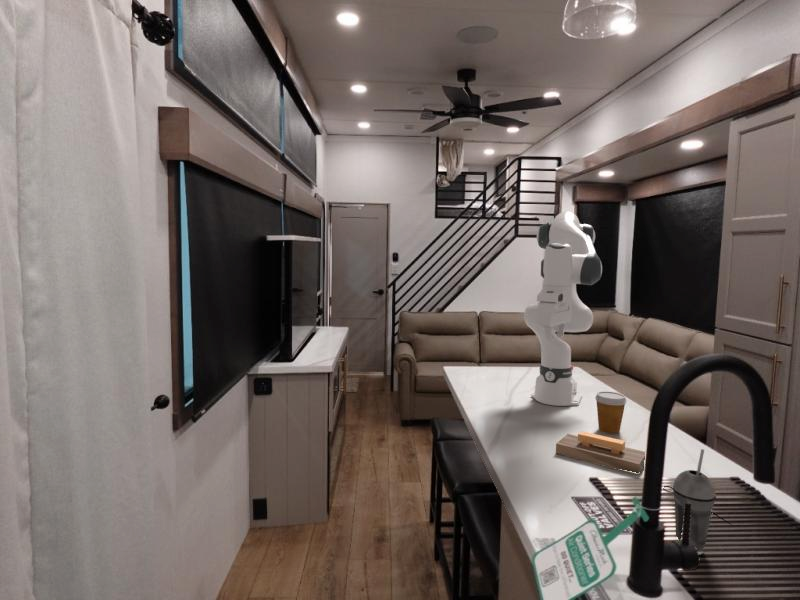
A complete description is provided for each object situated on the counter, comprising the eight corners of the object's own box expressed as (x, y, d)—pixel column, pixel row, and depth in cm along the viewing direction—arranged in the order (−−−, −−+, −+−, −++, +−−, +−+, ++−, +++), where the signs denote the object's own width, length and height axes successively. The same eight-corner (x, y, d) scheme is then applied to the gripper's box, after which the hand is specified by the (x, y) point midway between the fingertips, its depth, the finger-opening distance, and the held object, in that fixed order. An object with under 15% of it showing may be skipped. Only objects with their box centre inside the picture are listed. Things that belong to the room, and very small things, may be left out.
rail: (567, 443, 148) (567, 433, 147) (646, 462, 134) (647, 452, 134) (555, 453, 140) (556, 443, 139) (638, 475, 126) (639, 464, 126)
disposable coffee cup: (625, 428, 161) (627, 393, 160) (623, 438, 153) (626, 401, 152) (595, 423, 165) (597, 389, 164) (591, 432, 157) (593, 396, 156)
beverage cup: (660, 538, 98) (666, 442, 96) (694, 537, 98) (701, 442, 96) (684, 561, 90) (691, 458, 89) (721, 559, 91) (729, 457, 89)
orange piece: (580, 450, 142) (581, 431, 141) (624, 461, 134) (625, 441, 134) (577, 454, 139) (578, 433, 139) (621, 465, 132) (622, 444, 132)
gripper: (558, 292, 162) (556, 333, 163) (534, 295, 146) (532, 341, 147) (577, 293, 158) (575, 335, 159) (555, 297, 142) (553, 343, 143)
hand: (554, 338), depth 153 cm, fingers open, 8 cm apart
